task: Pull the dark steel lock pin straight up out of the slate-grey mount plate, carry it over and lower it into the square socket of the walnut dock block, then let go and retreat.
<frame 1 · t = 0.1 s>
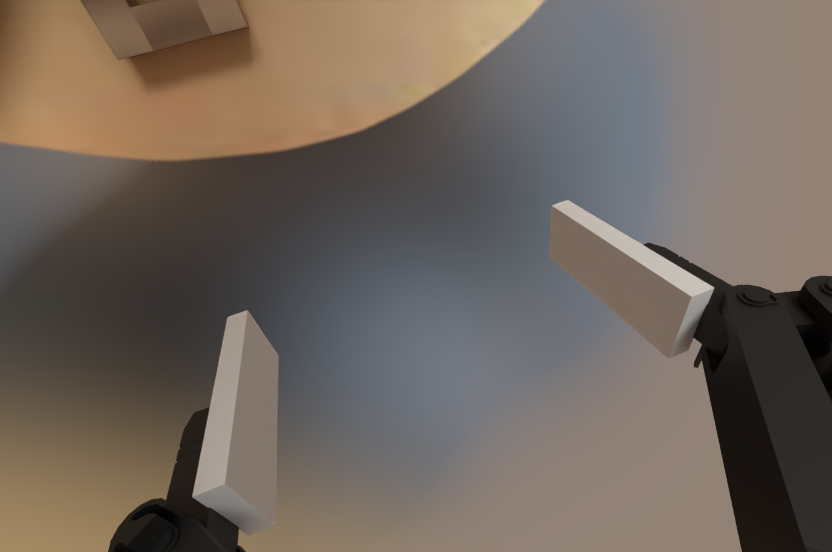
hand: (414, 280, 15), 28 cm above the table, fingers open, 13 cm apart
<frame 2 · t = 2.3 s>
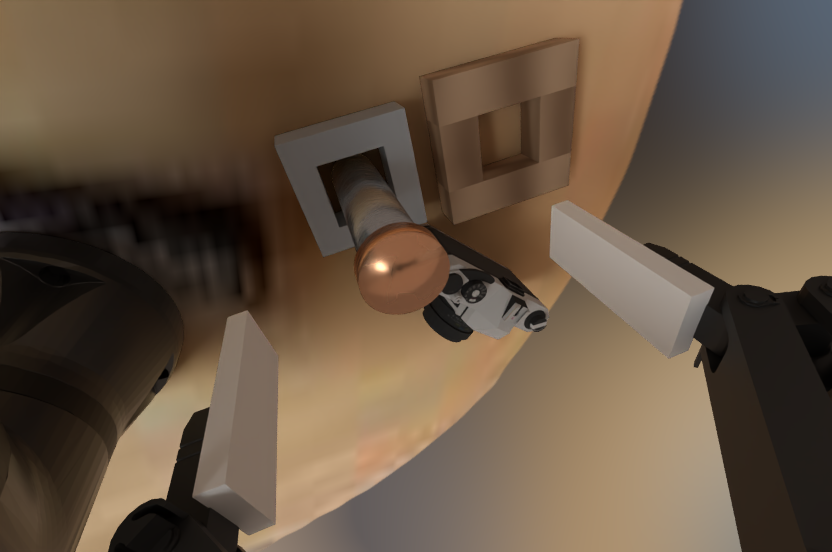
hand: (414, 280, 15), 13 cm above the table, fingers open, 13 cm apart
dock block: (493, 132, 27), on the table
mount plate: (354, 176, 25), on the table
camera: (449, 275, 34), on the table
lock pin: (373, 213, 20), in the mount plate
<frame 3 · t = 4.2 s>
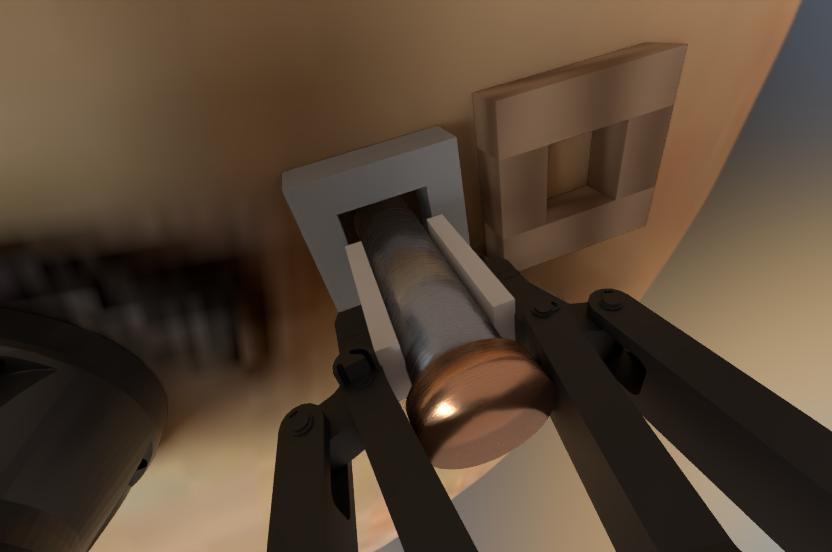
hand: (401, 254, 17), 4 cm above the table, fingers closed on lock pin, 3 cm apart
dock block: (557, 161, 21), on the table
mount plate: (382, 218, 20), on the table
lock pin: (417, 285, 15), in the mount plate, touching gripper
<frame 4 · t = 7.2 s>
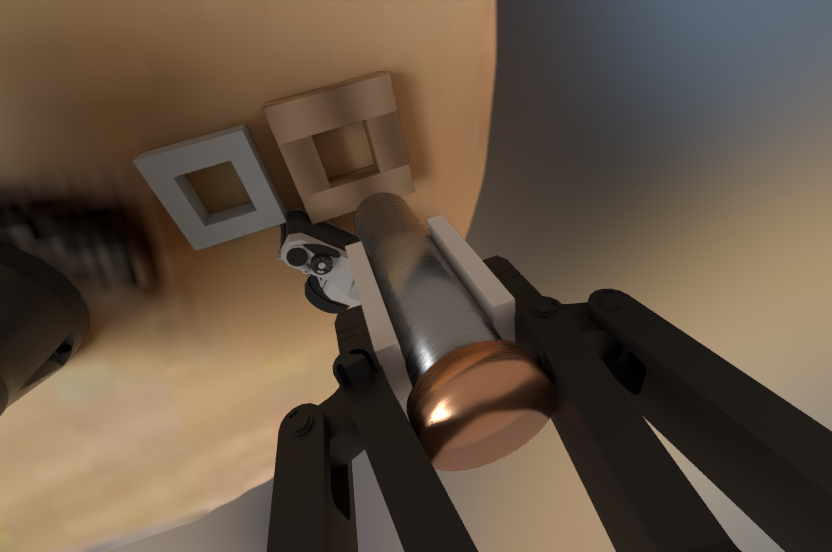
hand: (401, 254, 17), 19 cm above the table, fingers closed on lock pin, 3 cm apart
dock block: (343, 147, 32), on the table
mount plate: (221, 184, 31), on the table
camera: (333, 255, 38), on the table
lock pin: (417, 286, 15), point 22 cm above the table, touching gripper
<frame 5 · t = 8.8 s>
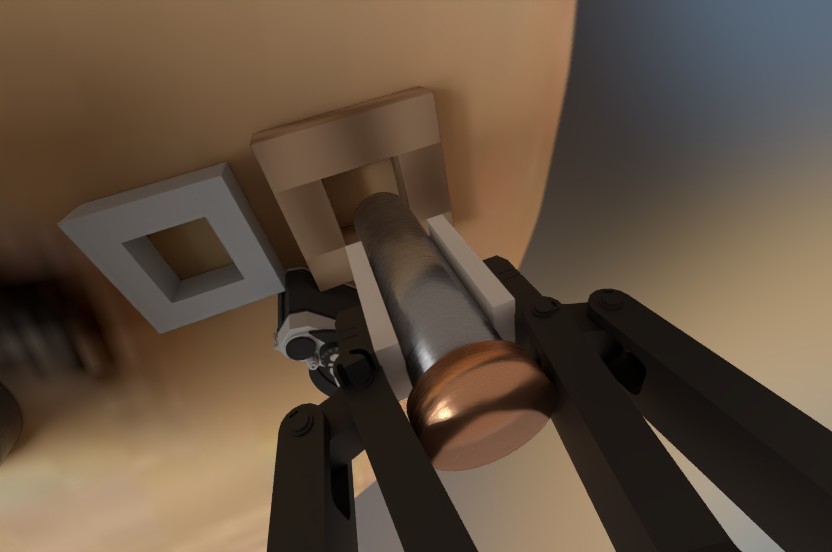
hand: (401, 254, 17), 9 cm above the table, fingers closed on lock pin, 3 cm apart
dock block: (363, 188, 24), on the table
mount plate: (195, 242, 22), on the table
camera: (345, 318, 30), on the table
lock pin: (417, 286, 15), point 12 cm above the table, touching gripper
when the fingers open (5 cm above the table, at t = 10.2 s): lock pin stays where it is, resting in dock block.
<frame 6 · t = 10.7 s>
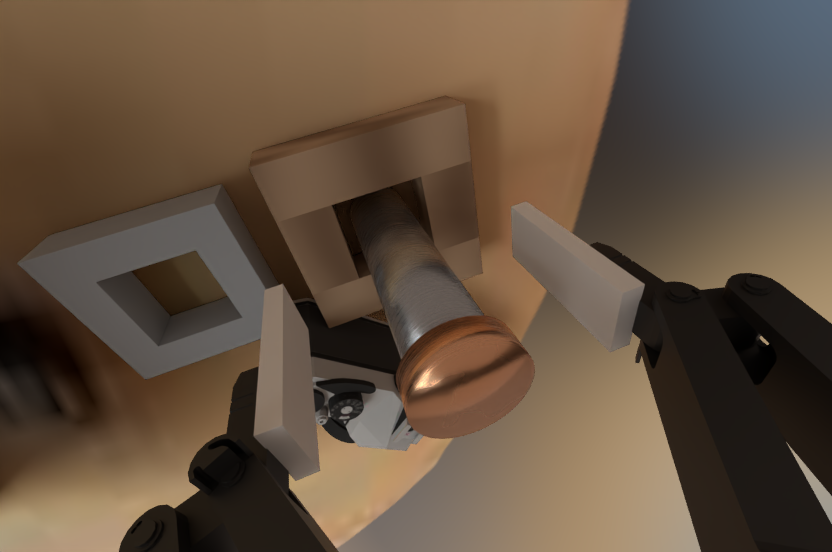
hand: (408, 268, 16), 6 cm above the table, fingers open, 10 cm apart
dock block: (378, 211, 21), on the table
mount plate: (186, 273, 19), on the table
camera: (356, 350, 27), on the table
lock pin: (409, 273, 15), in the dock block
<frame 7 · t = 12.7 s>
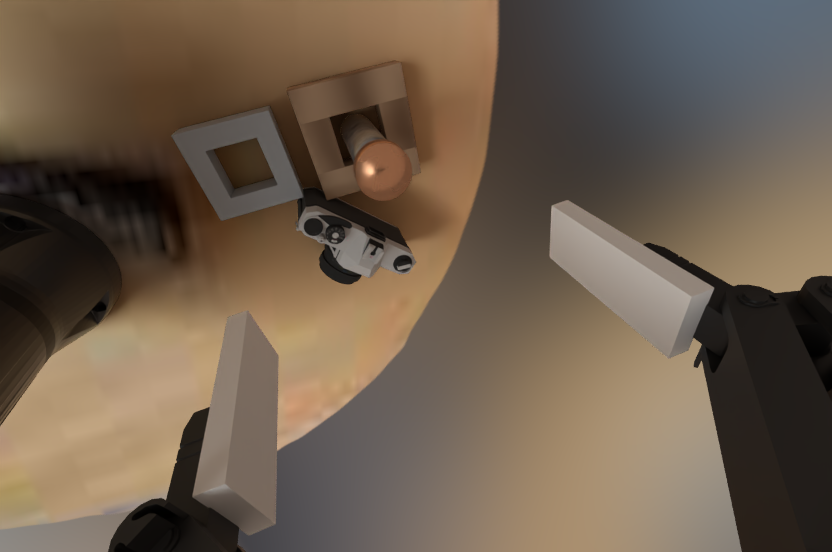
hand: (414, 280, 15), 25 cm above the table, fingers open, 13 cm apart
dock block: (357, 130, 35), on the table
mount plate: (246, 161, 34), on the table
camera: (345, 231, 41), on the table
lock pin: (368, 148, 30), in the dock block
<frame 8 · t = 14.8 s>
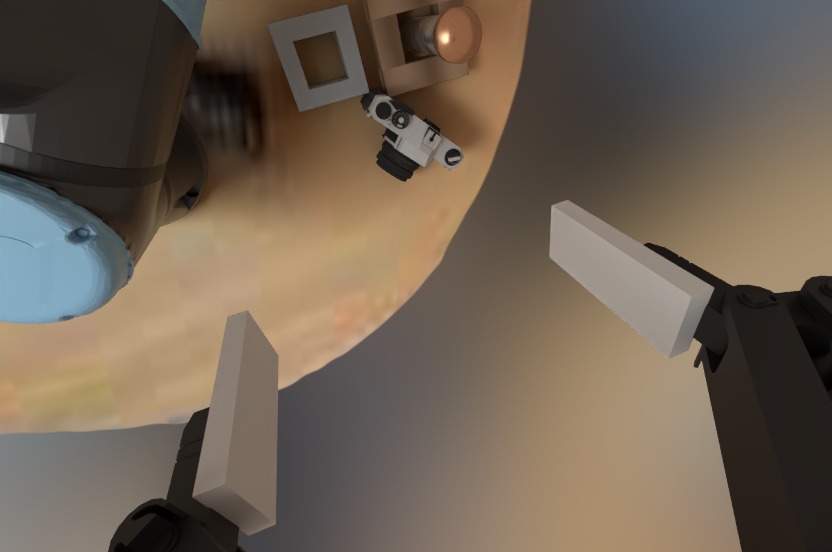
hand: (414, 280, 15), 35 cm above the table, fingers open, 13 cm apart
dock block: (414, 34, 40), on the table
mount plate: (320, 59, 39), on the table
camera: (396, 137, 46), on the table
lock pin: (433, 35, 35), in the dock block
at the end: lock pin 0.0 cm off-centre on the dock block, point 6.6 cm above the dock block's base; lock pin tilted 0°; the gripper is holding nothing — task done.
